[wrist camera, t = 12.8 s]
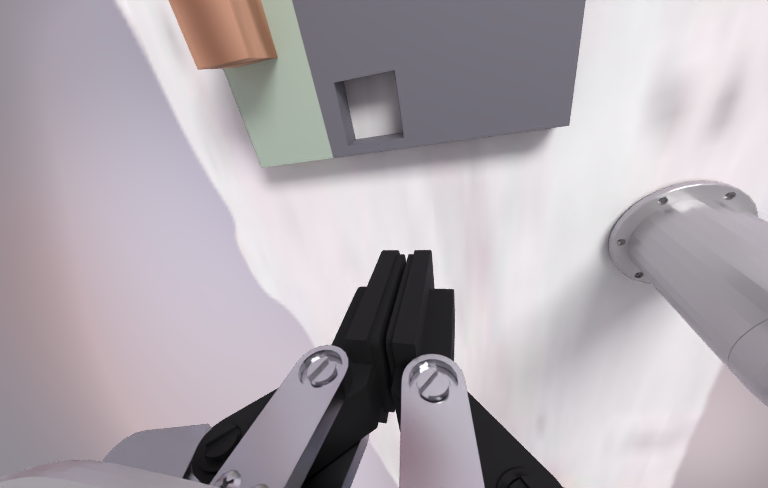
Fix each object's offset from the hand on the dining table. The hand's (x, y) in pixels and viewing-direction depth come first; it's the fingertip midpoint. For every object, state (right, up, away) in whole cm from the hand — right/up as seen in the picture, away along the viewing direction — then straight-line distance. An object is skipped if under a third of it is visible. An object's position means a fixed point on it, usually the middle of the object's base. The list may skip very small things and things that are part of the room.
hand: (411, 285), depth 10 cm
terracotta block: (-14, +21, +17) cm, 30 cm away
